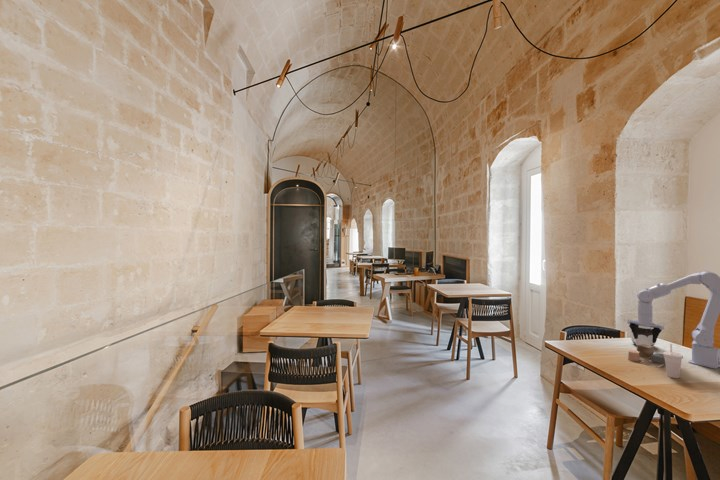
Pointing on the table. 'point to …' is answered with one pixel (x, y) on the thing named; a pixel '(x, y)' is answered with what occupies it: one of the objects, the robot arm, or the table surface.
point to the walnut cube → (645, 350)
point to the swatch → (652, 363)
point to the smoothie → (672, 363)
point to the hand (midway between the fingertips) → (645, 340)
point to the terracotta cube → (634, 355)
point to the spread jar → (643, 336)
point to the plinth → (658, 358)
